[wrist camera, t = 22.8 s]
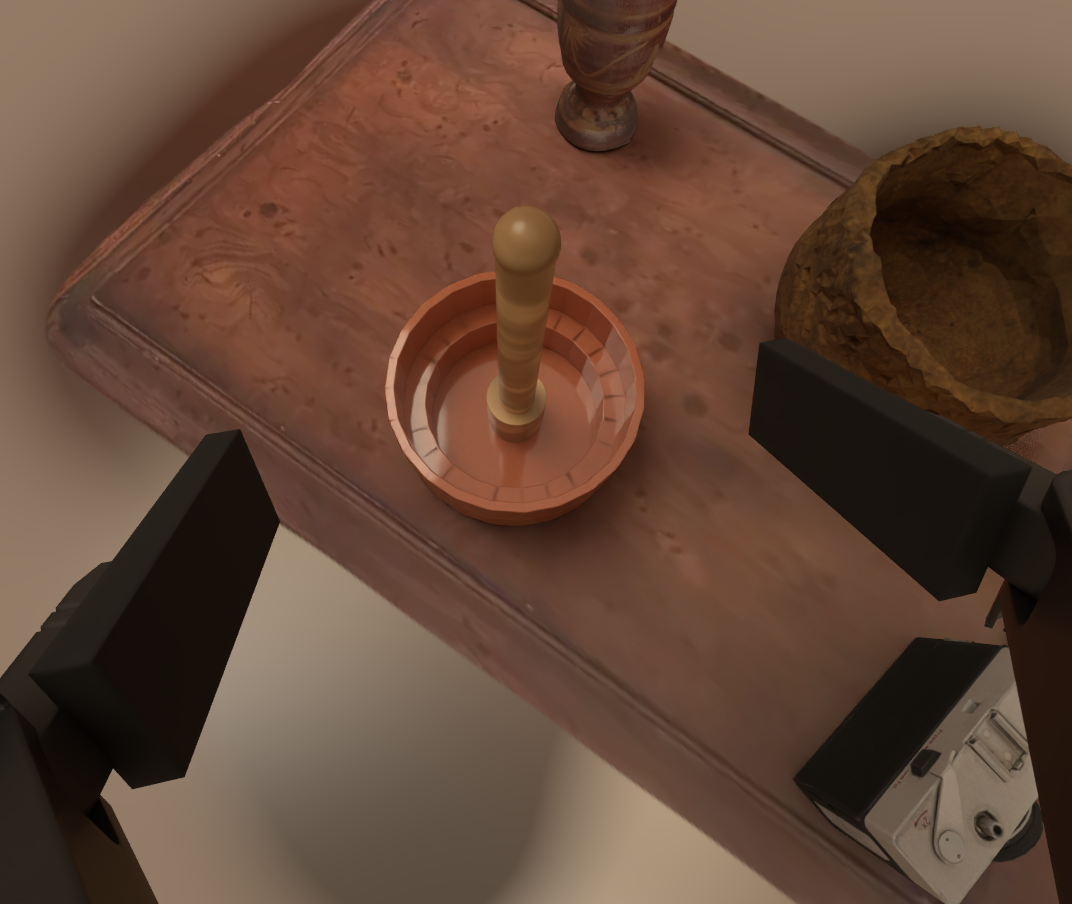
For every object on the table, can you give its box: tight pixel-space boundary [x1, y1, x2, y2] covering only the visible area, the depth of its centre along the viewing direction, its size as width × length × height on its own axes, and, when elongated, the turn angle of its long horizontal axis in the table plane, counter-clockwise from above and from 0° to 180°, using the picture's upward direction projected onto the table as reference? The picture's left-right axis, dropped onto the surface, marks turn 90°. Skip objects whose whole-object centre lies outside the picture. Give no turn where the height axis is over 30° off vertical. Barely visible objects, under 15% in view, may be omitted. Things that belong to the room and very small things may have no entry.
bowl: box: [775, 126, 1072, 446], centre depth 36 cm, size 19×19×15 cm
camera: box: [793, 637, 1043, 904], centre depth 31 cm, size 14×9×10 cm, turn 123°
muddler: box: [487, 205, 561, 442], centre depth 29 cm, size 4×4×21 cm
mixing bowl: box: [385, 271, 645, 526], centre depth 37 cm, size 16×16×7 cm
